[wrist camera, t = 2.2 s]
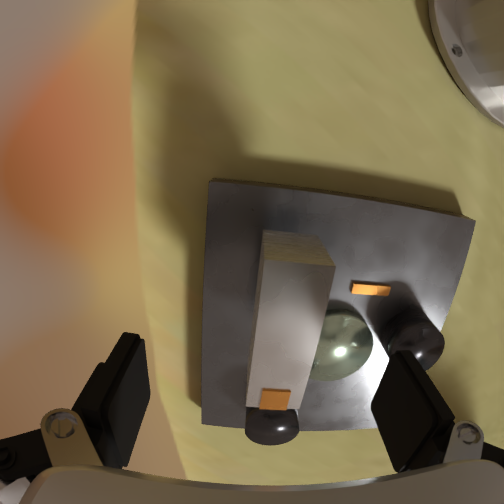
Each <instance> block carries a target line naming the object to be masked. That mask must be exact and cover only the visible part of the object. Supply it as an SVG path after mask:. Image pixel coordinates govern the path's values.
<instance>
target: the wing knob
mask: <svg viewBox="0 0 504 504" xmlns="http://www.w3.org/2000/svg"><path fill="white" fill-rule="evenodd" d="M335 269H336V265H335V264H334V262H333V260H332V259H331V257H330V255H329V254H328V252H327V250H326V248H325V247H324V245H323V243H322V242H321V240H320V238H319V237H318V235H310V234H300V233H291V232H282V231H272V230H263V235H262V244H261V252H260V261H259V269H258V278H257V287H256V295H255V303H254V312H253V320H252V329H251V337H250V345H249V353H248V367H247V389H246V406H247V407H259V409H268V410H287V409H299V408H300V405H301V402H302V399H303V395H304V392H305V389H306V385H307V382H308V378H309V375H310V371H311V368H312V364H313V360H314V357H315V353H316V349H317V345H318V341H319V338H320V334H321V330H322V326H323V322H324V318H325V313H326V309H327V305H328V301H329V296H330V292H331V287H332V283H333V278H334V273H335Z"/></svg>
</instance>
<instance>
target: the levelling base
mask: <svg viewBox="0 0 504 504" xmlns="http://www.w3.org/2000/svg"><path fill="white" fill-rule="evenodd" d="M475 222H476V221H475V220H473V219H471V218H469V217H467V216H465V215H462V214H457V213H453V212H448V211H443V210H438V209H433V208H428V207H423V206H418V205H413V204H408V203H402V202H397V201H391V200H386V199H380V198H374V197H368V196H361V195H355V194H348V193H342V192H335V191H328V190H321V189H313V188H305V187H297V186H289V185H281V184H272V183H262V182H253V181H242V180H231V179H220V178H213V179H212V180H210V181H209V192H208V206H207V222H206V240H205V260H204V283H203V313H202V369H201V406H202V424H205V425H213V426H222V427H233V428H244V429H245V434H246V436H247V437H248V438H249V439H250V440H251V441H253V442H255V443H258V444H262V445H279V444H283V443H286V442H289V441H291V440H292V439H294V438H295V437H296V436H297V434H298V433H299V431H332V430H353V429H367V428H378V427H377V424H376V422H375V419H374V417H373V414H372V412H371V401H372V399H373V397H374V395H375V392H376V390H377V388H378V386H379V383H380V381H381V378H382V376H383V374H384V371H385V369H386V366H387V364H388V361H389V359H390V356H391V355H392V354H394V353H395V352H396V351H397V350H410V351H411V352H412V353H413V354H414V356H415V357H416V359H417V360H418V362H419V363H420V364H421V366H422V367H423V369H424V370H425V371H426V370H428V369H429V368H430V367H432V366H433V365H434V364H435V363H436V362H437V360H438V359H439V357H440V356H441V354H442V352H443V349H444V344H445V341H444V337H443V335H442V334H441V332H440V331H441V329H442V326H443V324H444V321H445V319H446V316H447V314H448V311H449V308H450V306H451V303H452V300H453V297H454V295H455V292H456V289H457V286H458V283H459V280H460V277H461V274H462V270H463V267H464V264H465V260H466V257H467V254H468V250H469V246H470V243H471V239H472V235H473V231H474V227H475ZM263 230H272V231H282V232H291V233H300V234H310V235H318V237H319V238H320V240H321V242H322V243H323V245H324V247H325V248H326V250H327V252H328V254H329V255H330V257H331V259H332V260H333V262H334V264H335V265H336V269H335V273H334V278H333V283H332V287H331V292H330V296H329V301H328V305H327V309H326V313H325V318H324V322H323V326H322V330H321V334H320V338H319V341H318V345H317V349H316V353H315V357H314V360H313V364H312V368H311V371H310V375H309V378H308V382H307V385H306V389H305V392H304V395H303V399H302V402H301V405H300V408H299V409H287V410H268V409H259V407H247V406H246V389H247V367H248V353H249V345H250V337H251V329H252V320H253V312H254V303H255V295H256V287H257V278H258V269H259V261H260V252H261V244H262V235H263Z"/></svg>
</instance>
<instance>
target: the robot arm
mask: <svg viewBox="0 0 504 504" xmlns="http://www.w3.org/2000/svg"><path fill="white" fill-rule="evenodd" d="M428 6H429V18H430V23H431V27H432V32H433V35H434V38H435V41H436V43H437V46H438V49H439V52H440V54H441V56H442V58H443V60H444V62H445V64H446V66H447V68H448V70H449V72H450V73H451V75H452V77H453V78H454V80H455V82H456V83H457V85H458V86H459V88H460V89H461V90H462V92H463V93H464V94H465V96H466V97H467V98H468V100H469V101H470V102H471V103H472V104H473V105H474V106H475V107H476V108H477V109H478V110H479V112H481V113H482V114H483V115H484V116H486V117H487V118H488V119H489V120H490V121H492V122H494V123H496V124H497V125H499V126H501V127H503V128H504V0H429V1H428ZM149 399H150V385H149V377H148V369H147V360H146V351H145V341H144V339H141V338H140V336H139V335H138V334H134V333H128V332H124V333H123V334H122V335H121V337H120V339H119V340H118V342H117V344H116V345H115V347H114V349H113V350H112V352H111V354H110V356H109V357H108V359H107V360H106V362H105V363H103V362H101V363H99V364H98V365H97V367H96V368H95V370H94V371H93V373H92V375H91V377H90V378H89V380H88V382H87V383H86V385H85V387H84V388H83V390H82V392H81V393H80V395H79V397H78V399H77V400H76V402H75V404H74V406H73V407H72V409H71V410H70V409H64V408H59V409H54V410H52V411H50V412H48V413H47V414H45V416H44V417H43V418H42V421H41V424H40V425H41V428H40V429H37V430H34V431H30V432H27V433H23V434H20V435H17V436H13V437H9V438H5V439H1V440H0V504H18V503H19V504H504V450H503V449H501V448H498V447H496V446H493V445H490V444H488V443H485V442H483V441H484V434H483V432H482V430H481V428H480V427H479V426H478V425H476V424H475V423H473V422H471V421H459V422H457V423H456V424H455V423H454V421H453V420H454V419H455V416H454V415H453V413H452V411H451V410H450V408H449V407H448V405H447V404H446V402H445V401H444V399H443V397H442V396H441V394H440V393H439V391H438V390H437V388H436V387H435V385H434V384H433V382H432V381H431V379H430V378H429V376H428V375H427V373H426V372H425V370H424V369H423V367H422V366H421V364H420V363H419V362H418V360H417V359H416V357H415V356H414V354H413V353H412V352H411V351H410V350H397V351H396V352H395V353H394V354H392V355H391V356H390V359H389V361H388V364H387V366H386V369H385V371H384V374H383V376H382V378H381V381H380V383H379V386H378V388H377V390H376V392H375V395H374V397H373V399H372V401H371V412H372V414H373V417H374V419H375V422H376V424H377V427H378V429H379V432H380V434H381V437H382V439H383V442H384V444H385V447H386V450H387V452H388V455H389V457H390V460H391V463H392V465H393V468H394V470H395V471H396V472H398V473H397V474H392V475H386V476H381V477H375V478H368V479H361V480H354V481H345V482H336V483H325V484H311V485H286V486H260V485H234V484H220V483H209V482H199V481H191V480H183V479H176V478H169V477H162V476H156V475H151V474H145V473H140V472H135V471H129V470H124V469H122V467H123V466H124V467H127V466H128V463H129V460H130V456H131V454H132V451H133V447H134V444H135V441H136V438H137V435H138V432H139V429H140V426H141V423H142V420H143V417H144V414H145V411H146V408H147V405H148V403H149Z"/></svg>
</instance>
